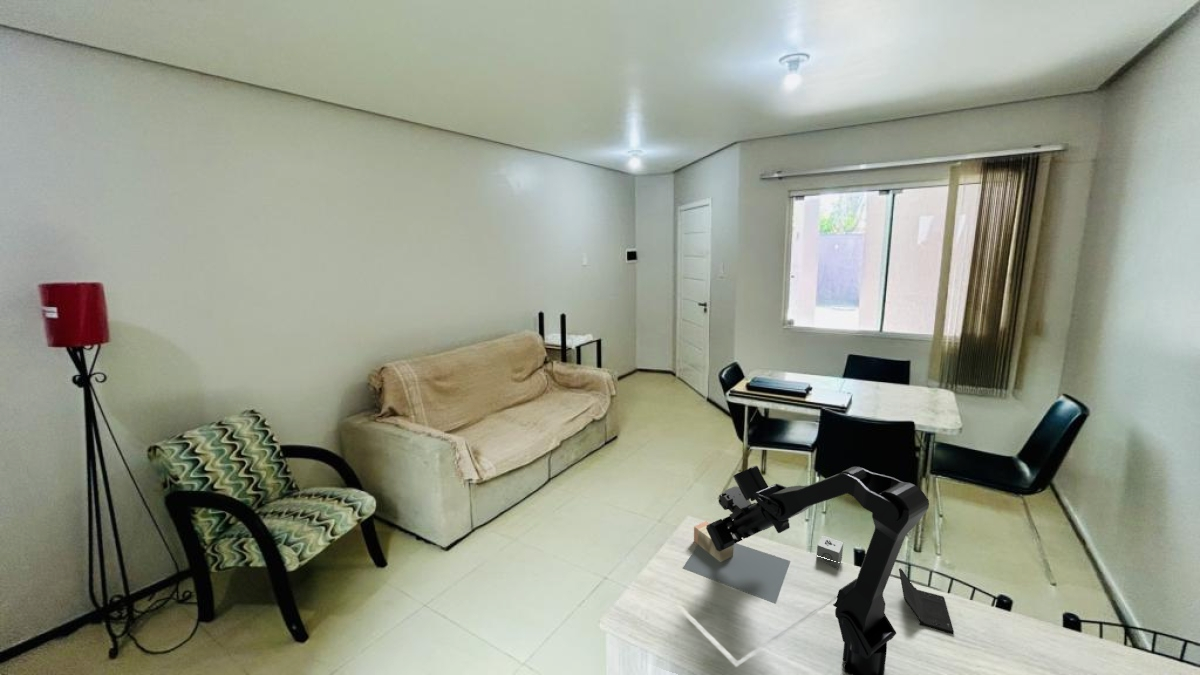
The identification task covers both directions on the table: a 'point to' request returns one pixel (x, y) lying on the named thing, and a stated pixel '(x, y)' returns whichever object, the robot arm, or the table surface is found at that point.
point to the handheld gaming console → (926, 606)
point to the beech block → (710, 543)
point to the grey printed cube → (830, 551)
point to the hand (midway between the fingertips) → (723, 534)
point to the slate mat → (742, 570)
